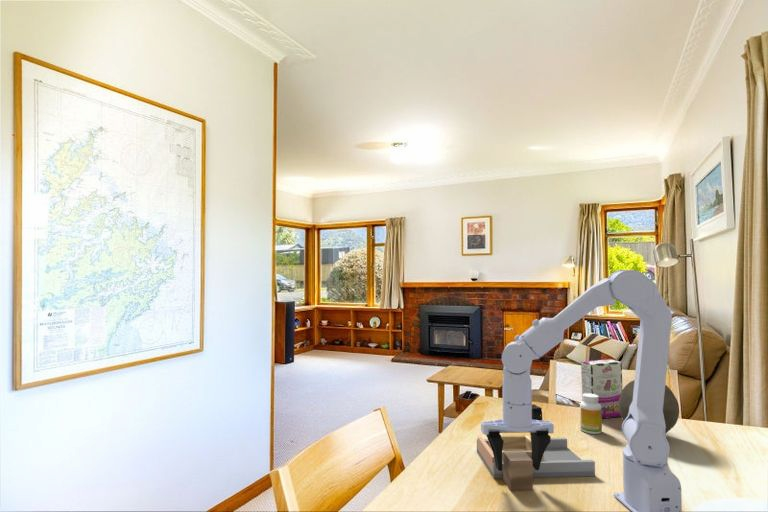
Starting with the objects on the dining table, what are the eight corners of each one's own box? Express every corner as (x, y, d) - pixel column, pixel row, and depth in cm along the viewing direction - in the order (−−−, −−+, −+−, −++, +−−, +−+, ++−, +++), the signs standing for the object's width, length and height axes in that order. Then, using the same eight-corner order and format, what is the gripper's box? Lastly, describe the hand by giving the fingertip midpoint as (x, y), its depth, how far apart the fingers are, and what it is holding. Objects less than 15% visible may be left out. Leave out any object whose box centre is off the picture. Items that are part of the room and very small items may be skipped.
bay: (595, 475, 94) (594, 456, 94) (493, 478, 93) (493, 459, 93) (565, 449, 108) (565, 433, 108) (476, 451, 106) (476, 435, 106)
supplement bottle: (604, 435, 117) (603, 398, 118) (582, 433, 118) (582, 397, 119) (598, 428, 122) (598, 393, 123) (578, 426, 124) (577, 391, 124)
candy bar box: (611, 411, 137) (610, 358, 137) (624, 416, 132) (623, 361, 133) (581, 414, 134) (580, 360, 134) (592, 420, 129) (592, 364, 130)
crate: (543, 467, 96) (543, 451, 96) (501, 468, 95) (501, 452, 95) (527, 449, 105) (527, 435, 105) (488, 450, 104) (488, 436, 105)
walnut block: (532, 490, 88) (532, 460, 88) (510, 491, 87) (510, 460, 88) (524, 480, 92) (524, 451, 92) (503, 480, 92) (503, 451, 92)
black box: (557, 428, 124) (557, 411, 124) (535, 430, 122) (535, 414, 122) (531, 414, 136) (530, 399, 136) (510, 416, 134) (510, 401, 134)
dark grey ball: (608, 435, 117) (607, 378, 118) (632, 423, 126) (631, 371, 126) (667, 452, 106) (666, 389, 107) (689, 438, 115) (688, 381, 115)
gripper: (543, 395, 95) (543, 459, 94) (477, 395, 94) (477, 460, 94) (558, 405, 88) (558, 474, 87) (486, 406, 87) (486, 475, 86)
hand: (517, 468), depth 90 cm, fingers open, 7 cm apart
